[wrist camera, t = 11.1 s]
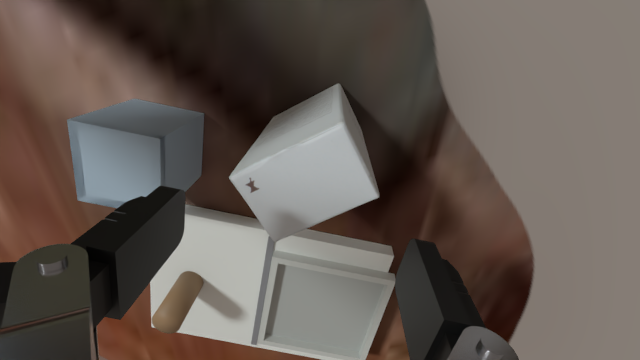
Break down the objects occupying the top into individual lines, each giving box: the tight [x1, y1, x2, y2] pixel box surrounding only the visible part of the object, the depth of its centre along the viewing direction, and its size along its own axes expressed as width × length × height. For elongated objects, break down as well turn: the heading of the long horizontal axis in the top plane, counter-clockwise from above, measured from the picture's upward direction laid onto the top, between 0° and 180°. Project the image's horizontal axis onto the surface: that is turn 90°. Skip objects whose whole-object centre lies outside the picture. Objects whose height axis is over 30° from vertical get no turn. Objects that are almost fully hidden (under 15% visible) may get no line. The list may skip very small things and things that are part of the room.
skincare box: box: [229, 83, 379, 242], centre depth 20 cm, size 6×4×12 cm
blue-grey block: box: [67, 99, 204, 208], centre depth 24 cm, size 6×6×7 cm
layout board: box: [150, 204, 396, 360], centre depth 30 cm, size 23×15×6 cm, turn 78°
